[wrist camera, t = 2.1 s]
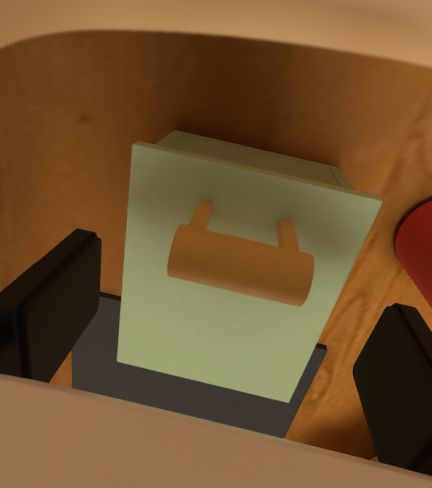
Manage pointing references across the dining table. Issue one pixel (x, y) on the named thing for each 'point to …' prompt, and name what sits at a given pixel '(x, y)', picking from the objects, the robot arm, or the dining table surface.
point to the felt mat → (176, 382)
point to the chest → (256, 158)
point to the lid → (232, 268)
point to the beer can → (417, 248)
